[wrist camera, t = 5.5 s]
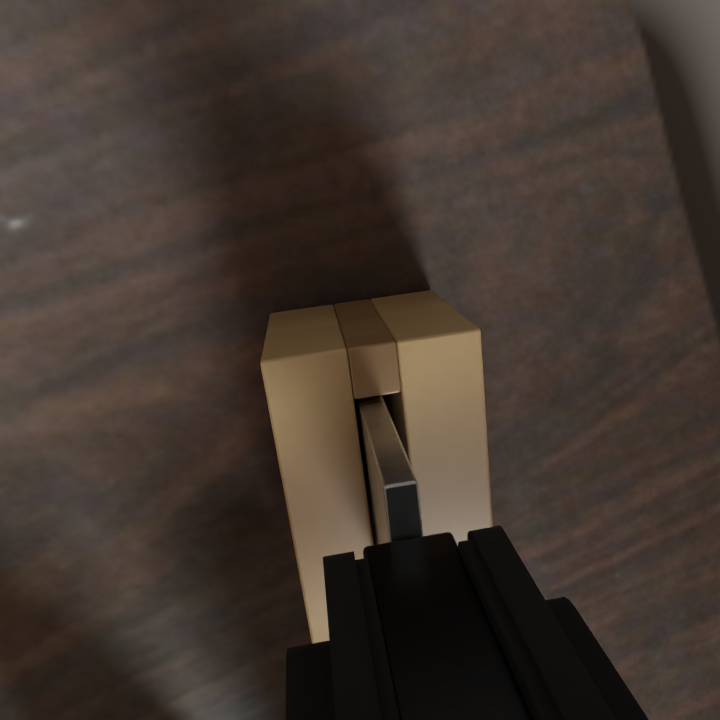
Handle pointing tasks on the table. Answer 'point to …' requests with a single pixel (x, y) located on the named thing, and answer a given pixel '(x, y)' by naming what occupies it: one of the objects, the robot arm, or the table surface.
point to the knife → (427, 596)
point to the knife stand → (340, 430)
